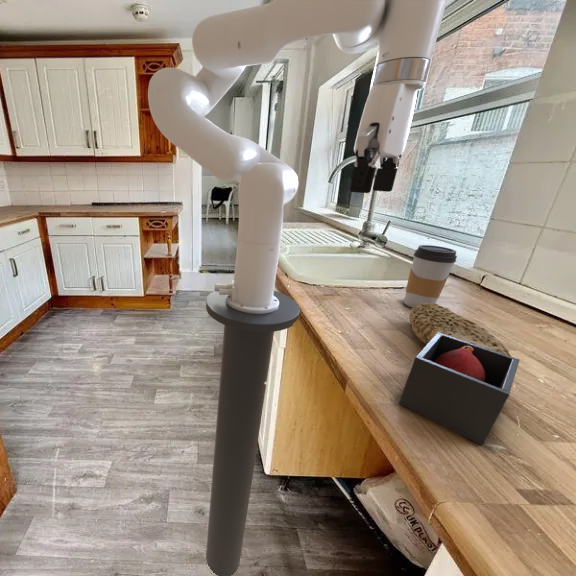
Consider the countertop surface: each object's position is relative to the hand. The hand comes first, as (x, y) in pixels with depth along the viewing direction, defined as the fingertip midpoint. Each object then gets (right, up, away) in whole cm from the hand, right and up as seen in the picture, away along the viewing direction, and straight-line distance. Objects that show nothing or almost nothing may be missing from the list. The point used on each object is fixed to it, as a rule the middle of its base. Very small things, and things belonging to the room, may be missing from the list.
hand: (371, 191), depth 55 cm
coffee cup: (+26, -22, +24) cm, 42 cm away
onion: (+6, -34, -10) cm, 35 cm away
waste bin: (+6, -35, -10) cm, 36 cm away
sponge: (+17, -30, +4) cm, 35 cm away
